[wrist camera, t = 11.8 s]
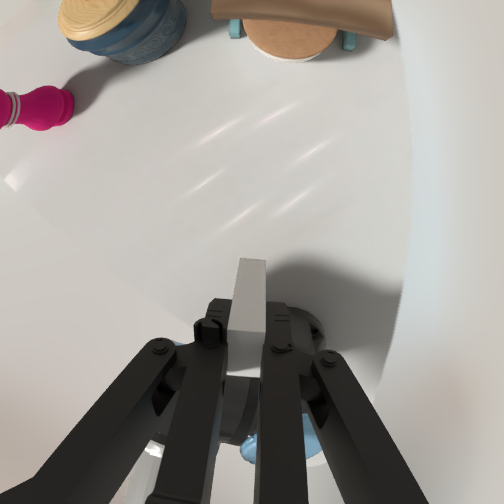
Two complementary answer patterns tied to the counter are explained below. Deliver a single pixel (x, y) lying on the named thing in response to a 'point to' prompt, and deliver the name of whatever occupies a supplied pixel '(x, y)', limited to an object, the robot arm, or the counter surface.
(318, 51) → the lidded jar
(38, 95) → the pepper mill
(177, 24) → the canister
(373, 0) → the overhang shelf
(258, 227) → the counter surface
